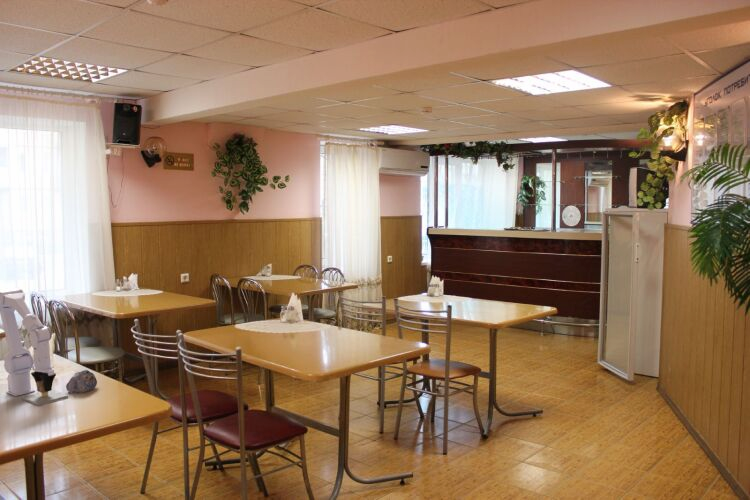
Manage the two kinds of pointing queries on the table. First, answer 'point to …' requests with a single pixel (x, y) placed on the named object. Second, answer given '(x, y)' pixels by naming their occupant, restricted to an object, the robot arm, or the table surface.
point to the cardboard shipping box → (40, 386)
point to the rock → (81, 382)
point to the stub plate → (44, 397)
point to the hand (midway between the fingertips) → (44, 389)
